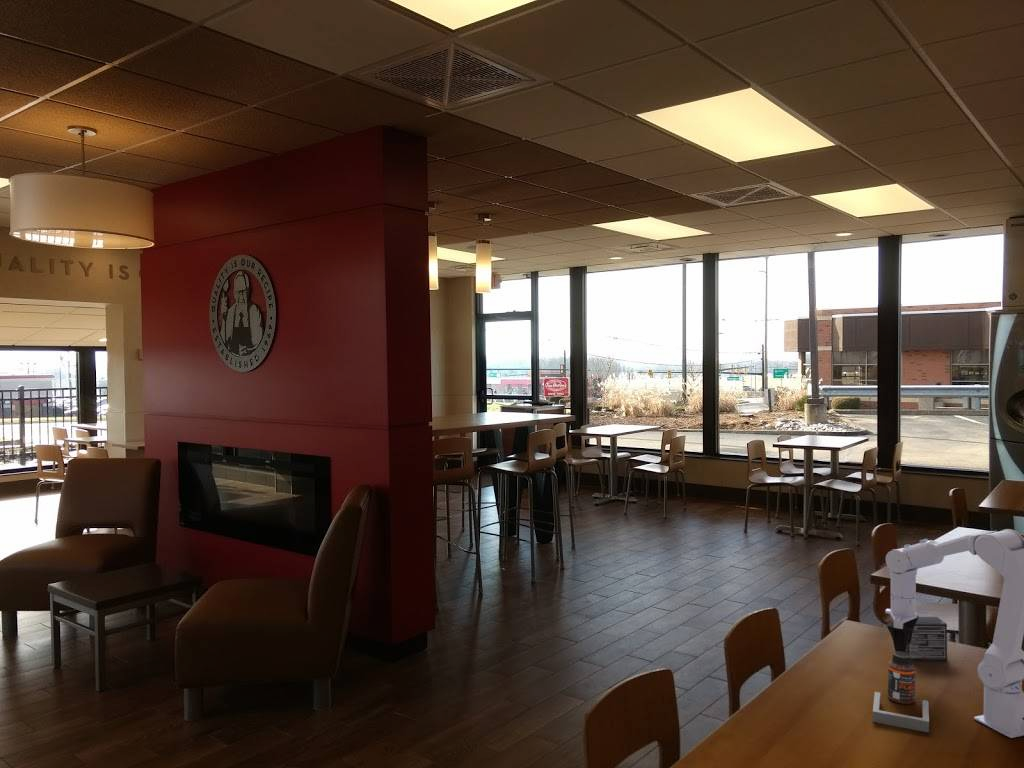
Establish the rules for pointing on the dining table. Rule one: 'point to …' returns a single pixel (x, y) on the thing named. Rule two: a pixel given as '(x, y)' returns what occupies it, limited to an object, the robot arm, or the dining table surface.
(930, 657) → the small box
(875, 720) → the grey u-shaped bracket
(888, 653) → the dining table surface
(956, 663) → the dining table surface
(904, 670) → the supplement bottle
